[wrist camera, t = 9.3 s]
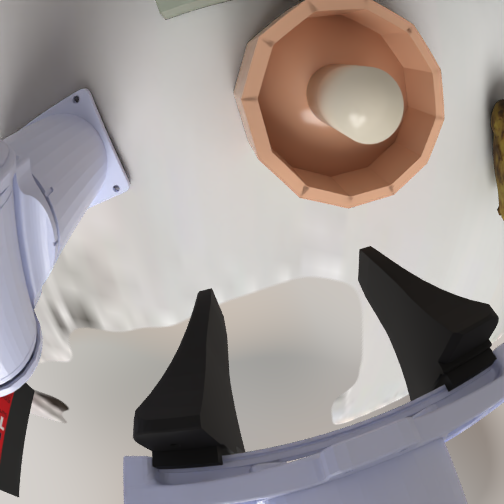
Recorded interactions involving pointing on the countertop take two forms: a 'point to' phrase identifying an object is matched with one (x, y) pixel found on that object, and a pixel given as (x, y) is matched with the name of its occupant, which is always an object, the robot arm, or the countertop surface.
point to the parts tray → (183, 6)
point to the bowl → (317, 132)
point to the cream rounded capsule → (356, 101)
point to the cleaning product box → (13, 436)
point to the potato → (499, 150)
